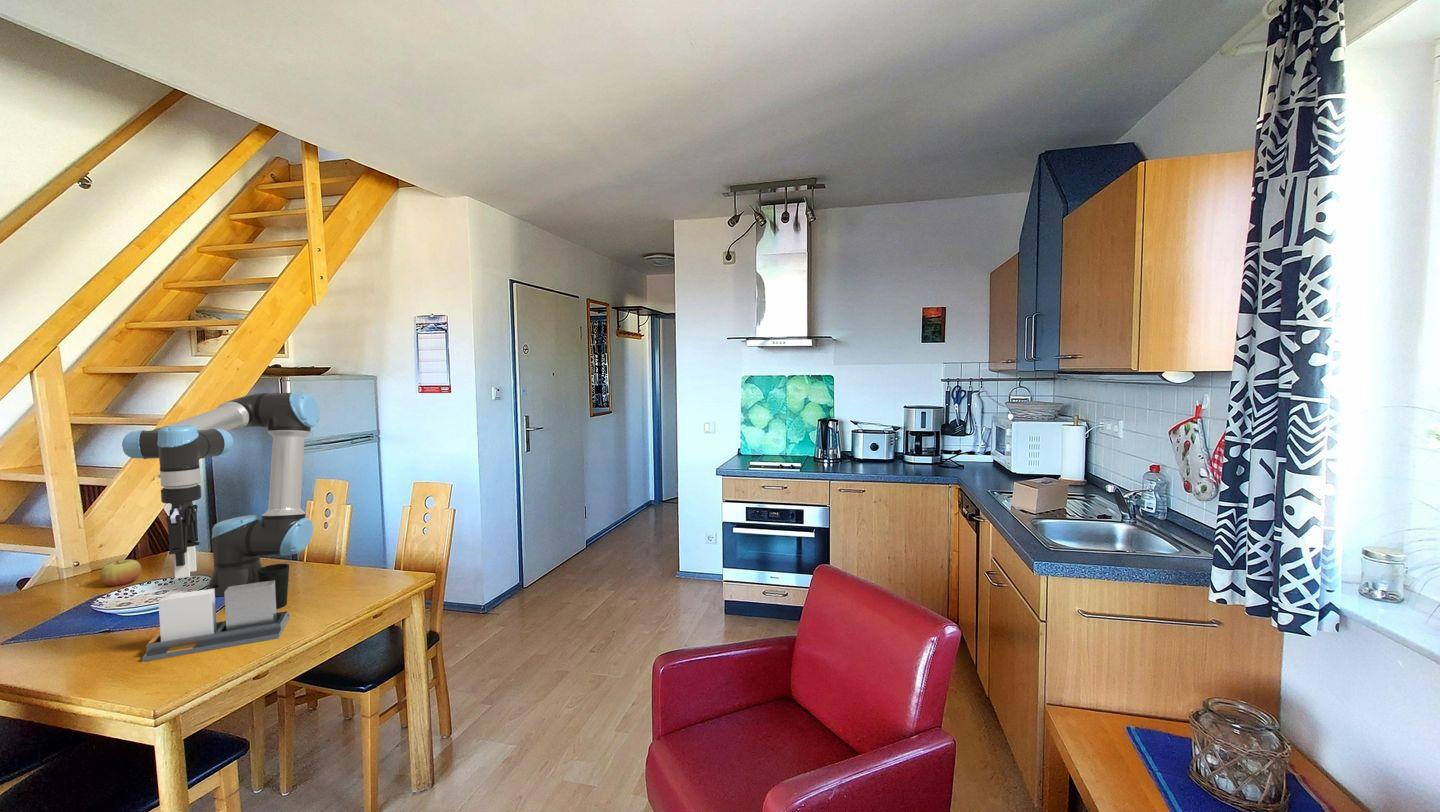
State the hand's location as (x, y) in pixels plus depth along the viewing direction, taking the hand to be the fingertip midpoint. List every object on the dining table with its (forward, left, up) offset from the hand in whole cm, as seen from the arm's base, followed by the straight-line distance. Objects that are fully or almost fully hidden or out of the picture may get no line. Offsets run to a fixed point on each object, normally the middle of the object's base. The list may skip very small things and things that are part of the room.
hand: (186, 574), depth 148 cm
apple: (-66, -36, -19) cm, 77 cm away
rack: (0, +6, -19) cm, 20 cm away
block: (0, 0, -17) cm, 17 cm away
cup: (-19, +14, -19) cm, 30 cm away
